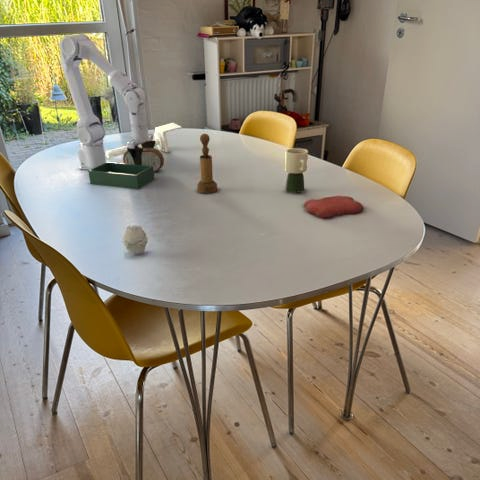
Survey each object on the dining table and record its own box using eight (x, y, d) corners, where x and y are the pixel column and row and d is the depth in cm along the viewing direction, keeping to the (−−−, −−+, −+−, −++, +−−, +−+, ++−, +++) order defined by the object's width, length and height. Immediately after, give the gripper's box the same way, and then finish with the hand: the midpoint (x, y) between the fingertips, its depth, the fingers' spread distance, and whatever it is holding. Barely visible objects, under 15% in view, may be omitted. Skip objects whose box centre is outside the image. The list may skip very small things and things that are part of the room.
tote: (90, 183, 169) (87, 170, 166) (108, 174, 178) (106, 161, 175) (138, 189, 163) (136, 175, 160) (154, 179, 172) (153, 166, 170)
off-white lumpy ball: (150, 246, 124) (147, 221, 120) (147, 258, 118) (143, 232, 115) (127, 247, 124) (123, 221, 120) (122, 259, 118) (118, 233, 114)
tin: (165, 170, 181) (163, 147, 176) (163, 173, 178) (161, 149, 173) (126, 170, 182) (123, 147, 177) (123, 172, 179) (120, 149, 175)
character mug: (312, 194, 156) (315, 153, 149) (292, 197, 154) (294, 156, 147) (297, 185, 164) (299, 145, 157) (278, 187, 162) (279, 147, 155)
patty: (319, 220, 137) (319, 214, 136) (296, 205, 148) (297, 198, 147) (371, 211, 143) (371, 205, 141) (345, 197, 153) (346, 191, 152)
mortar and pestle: (214, 194, 158) (211, 136, 148) (195, 193, 159) (191, 136, 149) (219, 187, 163) (217, 132, 153) (200, 186, 164) (197, 131, 154)
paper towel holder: (181, 126, 199) (107, 146, 189) (185, 147, 204) (113, 168, 194) (173, 122, 206) (101, 141, 196) (177, 143, 211) (107, 162, 201)
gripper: (138, 130, 164) (143, 170, 172) (158, 121, 176) (162, 159, 183) (120, 129, 166) (126, 168, 174) (141, 120, 178) (146, 158, 185)
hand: (143, 163), depth 179 cm, fingers open, 7 cm apart
